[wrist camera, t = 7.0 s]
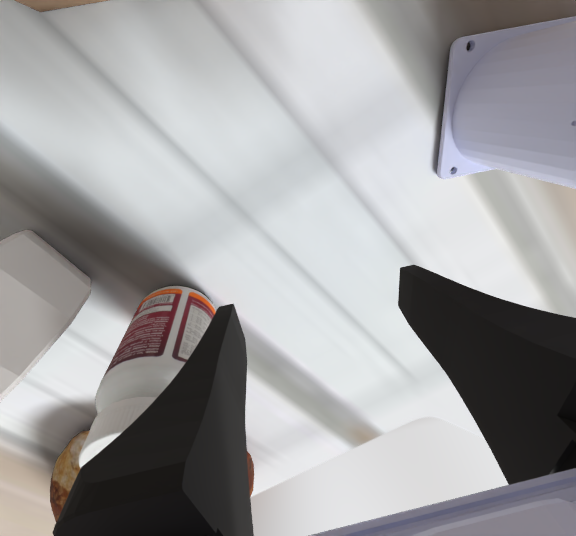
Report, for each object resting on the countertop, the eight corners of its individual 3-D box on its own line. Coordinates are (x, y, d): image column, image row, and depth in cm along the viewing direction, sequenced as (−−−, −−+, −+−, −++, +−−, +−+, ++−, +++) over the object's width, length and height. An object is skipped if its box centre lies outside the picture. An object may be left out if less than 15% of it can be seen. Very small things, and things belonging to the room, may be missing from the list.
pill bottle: (131, 332, 24) (55, 492, 14) (149, 272, 21) (71, 415, 11) (205, 348, 26) (183, 498, 16) (229, 295, 23) (220, 434, 13)
